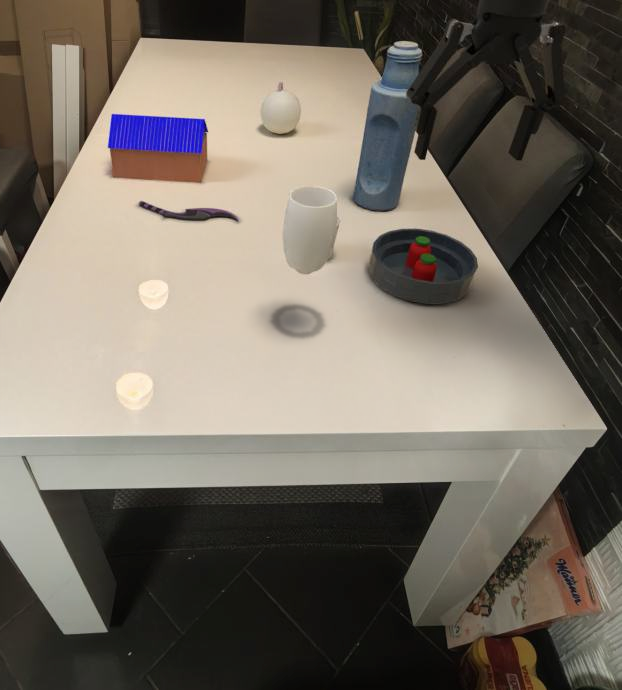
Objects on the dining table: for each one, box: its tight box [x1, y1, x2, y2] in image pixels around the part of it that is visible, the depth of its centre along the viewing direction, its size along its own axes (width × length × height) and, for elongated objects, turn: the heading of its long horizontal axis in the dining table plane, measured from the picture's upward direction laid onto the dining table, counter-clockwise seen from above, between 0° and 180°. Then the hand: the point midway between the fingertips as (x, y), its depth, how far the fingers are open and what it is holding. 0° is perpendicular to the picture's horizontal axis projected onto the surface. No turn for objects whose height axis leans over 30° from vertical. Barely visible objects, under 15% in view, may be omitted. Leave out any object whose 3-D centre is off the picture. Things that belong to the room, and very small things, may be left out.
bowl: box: [367, 228, 479, 305], centre depth 93 cm, size 17×17×4 cm
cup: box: [282, 185, 338, 275], centre depth 78 cm, size 7×7×21 cm
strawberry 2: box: [411, 254, 437, 282], centre depth 91 cm, size 4×4×5 cm
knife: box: [138, 200, 239, 222], centre depth 109 cm, size 21×1×5 cm
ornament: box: [260, 81, 302, 135], centre depth 140 cm, size 10×10×12 cm
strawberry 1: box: [406, 236, 431, 269], centre depth 95 cm, size 4×4×5 cm
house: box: [107, 113, 209, 183], centre depth 120 cm, size 12×20×12 cm, turn 86°
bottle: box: [352, 40, 423, 212], centre depth 106 cm, size 10×10×30 cm
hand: (467, 156), depth 76 cm, fingers open, 13 cm apart
